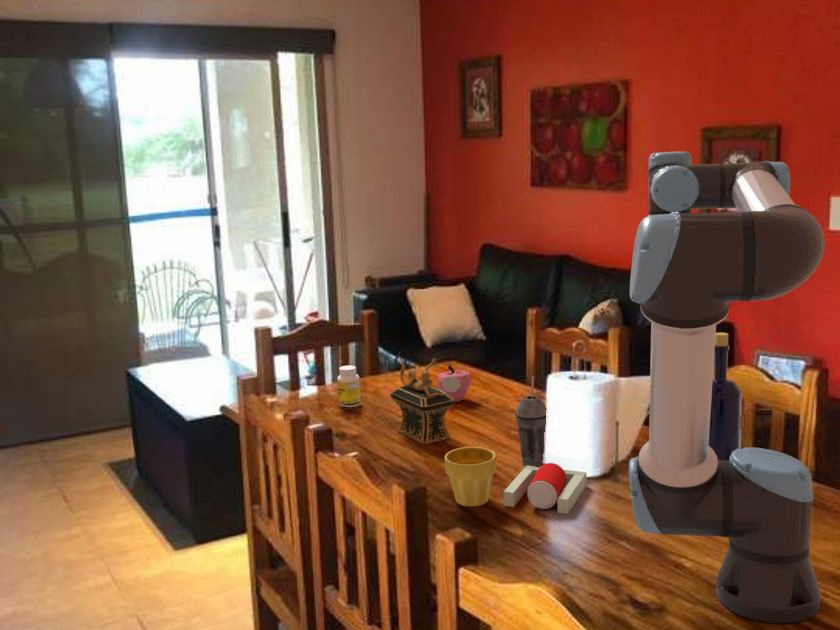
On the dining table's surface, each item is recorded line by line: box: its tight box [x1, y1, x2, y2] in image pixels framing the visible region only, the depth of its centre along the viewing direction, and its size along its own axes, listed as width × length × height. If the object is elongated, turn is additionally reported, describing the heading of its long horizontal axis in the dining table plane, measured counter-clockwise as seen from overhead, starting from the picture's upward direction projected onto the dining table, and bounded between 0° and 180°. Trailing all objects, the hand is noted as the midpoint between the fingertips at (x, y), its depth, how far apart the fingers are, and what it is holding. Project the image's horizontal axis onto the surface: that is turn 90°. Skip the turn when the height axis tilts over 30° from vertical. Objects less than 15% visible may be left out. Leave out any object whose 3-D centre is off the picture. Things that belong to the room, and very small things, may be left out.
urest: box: [503, 466, 588, 515], centre depth 183 cm, size 15×13×3 cm
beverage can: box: [526, 462, 566, 510], centre depth 181 cm, size 6×6×12 cm
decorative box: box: [389, 356, 456, 445], centre depth 224 cm, size 20×10×20 cm, turn 31°
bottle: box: [708, 332, 743, 461], centre depth 190 cm, size 9×9×30 cm
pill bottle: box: [336, 365, 362, 407], centre depth 251 cm, size 6×6×11 cm
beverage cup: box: [514, 375, 548, 467], centre depth 200 cm, size 7×7×20 cm
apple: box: [437, 364, 472, 403], centre depth 251 cm, size 10×9×10 cm
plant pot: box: [444, 446, 497, 508], centre depth 182 cm, size 10×10×10 cm
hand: (668, 361), depth 169 cm, fingers closed
